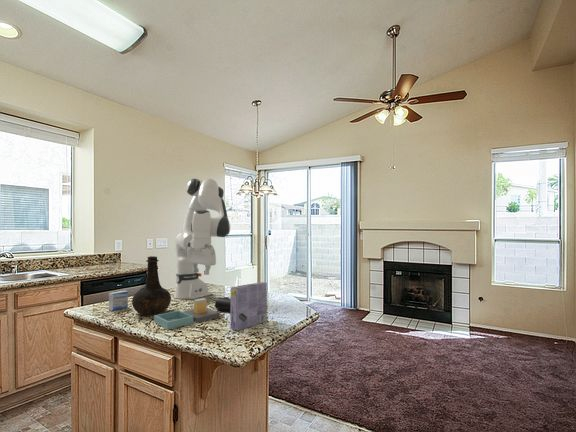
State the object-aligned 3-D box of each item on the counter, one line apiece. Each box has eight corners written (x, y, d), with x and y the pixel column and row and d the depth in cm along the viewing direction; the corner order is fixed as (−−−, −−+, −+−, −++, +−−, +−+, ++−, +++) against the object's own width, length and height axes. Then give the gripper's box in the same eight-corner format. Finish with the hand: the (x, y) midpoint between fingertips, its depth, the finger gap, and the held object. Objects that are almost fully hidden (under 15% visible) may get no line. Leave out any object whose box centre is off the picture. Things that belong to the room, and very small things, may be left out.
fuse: (203, 314, 150) (203, 298, 150) (206, 316, 148) (206, 299, 148) (194, 317, 146) (194, 299, 146) (196, 318, 144) (196, 300, 145)
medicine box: (112, 311, 159) (112, 293, 159) (108, 309, 162) (108, 292, 162) (128, 307, 165) (128, 291, 165) (124, 306, 168) (124, 290, 168)
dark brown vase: (156, 306, 167) (156, 254, 168) (178, 311, 158) (179, 255, 159) (123, 314, 152) (124, 257, 153) (146, 320, 143) (147, 259, 143)
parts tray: (179, 317, 147) (179, 310, 147) (193, 324, 137) (193, 316, 137) (154, 323, 139) (154, 315, 139) (167, 330, 129) (167, 322, 129)
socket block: (204, 312, 156) (204, 307, 156) (219, 318, 146) (219, 312, 146) (181, 317, 148) (181, 311, 148) (196, 323, 138) (196, 318, 138)
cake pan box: (261, 318, 145) (261, 280, 146) (269, 320, 142) (269, 281, 143) (229, 329, 131) (229, 287, 131) (237, 332, 127) (237, 288, 128)
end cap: (214, 312, 157) (214, 298, 157) (223, 308, 163) (223, 295, 163) (231, 314, 152) (231, 300, 152) (239, 311, 159) (239, 297, 159)
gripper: (219, 244, 143) (219, 275, 143) (196, 242, 157) (196, 270, 157) (207, 245, 139) (207, 276, 138) (185, 243, 153) (184, 271, 153)
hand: (201, 273), depth 148 cm, fingers open, 8 cm apart
